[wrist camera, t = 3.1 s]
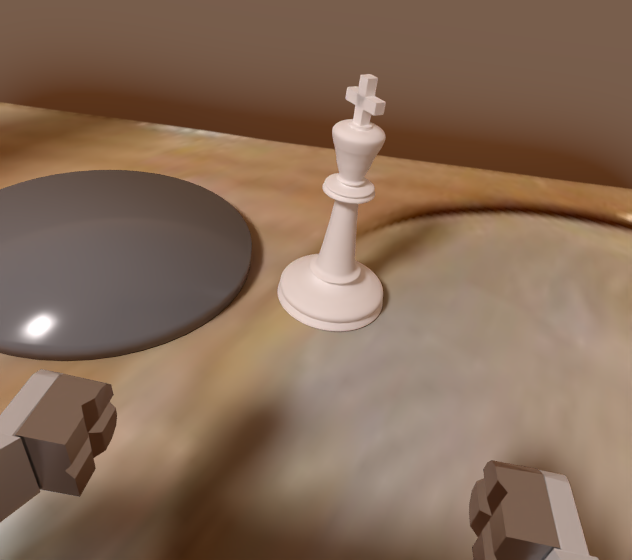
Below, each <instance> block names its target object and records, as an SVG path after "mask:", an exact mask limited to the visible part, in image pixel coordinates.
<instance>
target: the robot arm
mask: <svg viewBox="0 0 632 560" xmlns="http://www.w3.org/2000/svg"><path fill="white" fill-rule="evenodd" d="M113 395H114V394H113V390H112V386H111V384H107V383H102V382H98V381H93V380H89V379H84V378H80V377H75V376H71V375H67V374H63V373H58V372H53V371H48V370H43V369H40V370H39V371H37V372H36V373H34V374H33V375H32V376H31V377H30V379H29V380H28V381H27V382H26V384H25V385H24V386H23V387H22V389H21V390H20V391H19V392H18V394H17V395H16V396H15V397H14V399H13V400H12V401H11V402H10V404H9V405H8V406H7V407H6V409H5V410H4V411H3V412H2V414H1V415H0V522H1V521H3V520H4V519H5V518H7V517H8V516H9V515H11V514H12V513H13V512H15V511H16V510H17V509H18V508H20V507H21V506H22V505H24V504H25V503H26V502H28V501H29V500H30V499H32V498H33V497H34V496H36V495H37V494H38V493H40V490H46V491H51V492H57V493H62V494H68V495H73V496H79V497H80V496H81V494H82V492H83V490H84V488H85V487H86V485H87V483H88V481H89V479H90V478H91V476H92V474H93V472H94V471H95V469H96V468H95V463H94V457H96V456H97V455H99V454H101V453H102V452H104V451H105V450H106V449H107V447H108V445H109V443H110V441H111V439H112V437H113V434H114V430H115V427H116V421H117V412H116V408H115V407H114V406H113V405H112V404H111V403H110V400H111V398H112V396H113ZM483 472H484V478H483V479H481V480H479V481H477V482H476V484H475V486H474V488H473V490H472V493H471V498H470V503H469V519H470V527H471V528H472V529H473V531H474V532H475V534H476V535H477V537H478V539H477V540H476V542H475V543H474V545H473V547H472V552H473V560H599V559H598V557H594V556H590V554H589V551H588V547H587V544H586V540H585V537H584V533H583V529H582V526H581V522H580V519H579V515H578V511H577V508H576V504H575V501H574V497H573V493H572V490H571V486H570V483H569V480H568V479H567V477H566V476H565V475H562V474H558V473H553V472H547V471H542V470H538V469H536V468H530V467H525V466H520V465H514V464H509V463H503V462H498V461H493V460H491V461H489V462H487V464H486V466H485V467H484V469H483Z"/></svg>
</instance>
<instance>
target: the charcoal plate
mask: <svg viewBox="0 0 632 560" xmlns="http://www.w3.org/2000/svg"><path fill="white" fill-rule="evenodd" d="M251 249H252V242H251V235H250V231H249V229H248V226H247V224H246V222H245V221H244V219H243V218H242V216H241V215H240V213H239V212H238V211H237V210H236V209H235V208H234V207H233V206H232V205H231V204H229V203H228V202H227V201H226V200H224V199H223V198H221V197H220V196H218V195H217V194H215V193H213V192H211V191H209V190H207V189H205V188H203V187H201V186H198V185H196V184H193V183H190V182H188V181H184V180H181V179H177V178H174V177H169V176H165V175H160V174H154V173H147V172H139V171H127V170H91V171H79V172H70V173H63V174H56V175H51V176H46V177H41V178H36V179H33V180H29V181H25V182H21V183H18V184H15V185H12V186H9V187H6V188H3V189H1V190H0V353H3V354H7V355H11V356H16V357H23V358H30V359H37V360H57V361H72V360H92V359H99V358H107V357H114V356H120V355H124V354H129V353H133V352H138V351H142V350H145V349H148V348H152V347H155V346H158V345H161V344H164V343H167V342H169V341H171V340H174V339H176V338H178V337H181V336H183V335H185V334H187V333H189V332H191V331H193V330H195V329H196V328H198V327H200V326H202V325H204V324H205V323H206V322H208V321H209V320H211V319H212V318H214V317H215V316H216V315H218V314H219V313H220V312H221V311H222V310H223V309H224V308H226V307H227V306H228V305H229V304H230V303H231V302H232V301H233V299H234V298H235V297H236V296H237V294H238V293H239V292H240V290H241V289H242V287H243V285H244V283H245V281H246V280H247V276H248V273H249V270H250V264H251Z"/></svg>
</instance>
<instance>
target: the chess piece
mask: <svg viewBox="0 0 632 560" xmlns="http://www.w3.org/2000/svg"><path fill="white" fill-rule="evenodd" d="M377 81H378V78H377V77H375V76H373V75H371V74H367V75H361V77H360V82H359V87H357V86H355V87H347V93H346V99H347V100H348V101H350V102H351V103H353V104H355V105H356V106H355V112H354V118H353V119H349V120H343V121H340V122H338V123H336V124H335V125H334V127H333V130H332V135H333V142H334V145H335V150H336V158H337V165H338V169H339V173H336V174H332V175H330V176H328V177H327V178H326V179H325V182H324V183H323V191H324V192H325V193H326V194H327V195H328V196H329V197H331V198H333V199H335V203H334V206H333V210H332V214H331V218H330V221H329V224H328V228H327V231H326V234H325V238H324V241H323V244H322V247H321V250H320V253H319V254H313V255H308V256H304V257H301V258H299V259H297V260H295V261H293V262H292V263H290V264H289V265H288V266H287V267H286V268H285V269H284V271H283V273H282V275H281V278H280V282H279V285H278V298H279V301H280V303H281V305H282V306H283V308H284V309H285V310H286V311H287V312H288V313H289V314H290V315H291V316H292V317H294V318H295V319H296V320H298V321H300V322H302V323H304V324H306V325H308V326H311V327H314V328H317V329H321V330H327V331H350V330H355V329H359V328H362V327H364V326H366V325H368V324H370V323H371V322H373V321H374V320H375V319H376V318H377V317H378V315H379V314H380V312H381V309H382V305H383V300H382V299H383V287H382V284H381V282H380V280H379V279H378V277H377V276H376V275H375V274H374V272H373V271H371V270H370V269H369V268H368V267H366V266H365V265H363V264H362V263H360V262H358V261H356V260H355V244H356V226H357V215H358V204H361V203H366V202H369V201H371V200H372V199H373V198H374V196H375V187H374V185H373V184H372V182H371V181H369V180H368V179H366V178H364V176H365V174H366V173H367V171H368V170H369V168H370V166H371V164H372V162H373V160H374V158H375V156H376V155H377V153H378V152H379V151H380V149H381V147H382V145H383V143H384V141H385V137H386V136H385V133H384V131H383V130H382V129H381V128H380V127H378V126H377V125H375V124H373V123H371V122H370V118H371V114H372V115H374V116H375V115H382V114H383V112H384V108H385V104H386V102H384V101H383V100H381V99H379V98H377V97H375V91H376V86H377Z"/></svg>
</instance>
